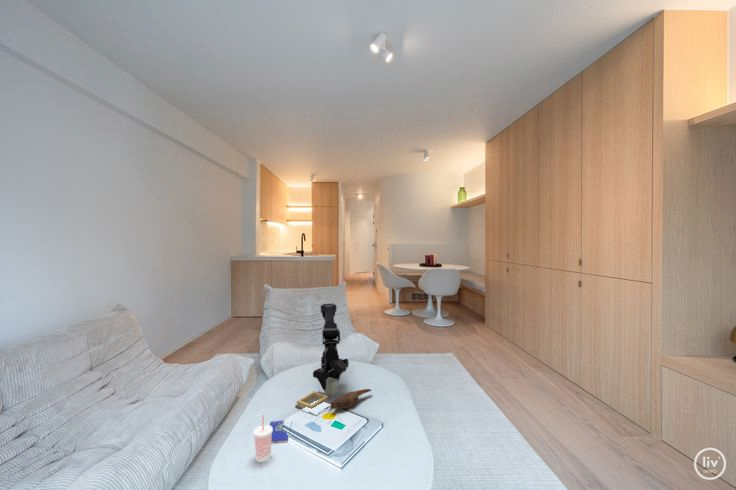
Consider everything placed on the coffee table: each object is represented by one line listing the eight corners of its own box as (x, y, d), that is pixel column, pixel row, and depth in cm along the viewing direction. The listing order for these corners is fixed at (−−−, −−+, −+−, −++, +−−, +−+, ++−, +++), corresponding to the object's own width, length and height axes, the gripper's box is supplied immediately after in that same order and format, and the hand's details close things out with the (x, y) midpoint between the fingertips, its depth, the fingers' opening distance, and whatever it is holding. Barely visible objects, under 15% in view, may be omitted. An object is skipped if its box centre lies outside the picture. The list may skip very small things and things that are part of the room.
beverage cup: (266, 448, 109) (265, 408, 109) (276, 456, 105) (276, 414, 105) (249, 458, 105) (249, 415, 104) (260, 466, 101) (259, 422, 101)
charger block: (329, 389, 153) (329, 377, 153) (337, 392, 150) (337, 379, 150) (324, 392, 150) (323, 380, 150) (332, 395, 147) (332, 382, 147)
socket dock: (318, 393, 149) (318, 387, 149) (339, 400, 142) (339, 393, 142) (295, 407, 136) (295, 400, 136) (316, 415, 130) (316, 408, 130)
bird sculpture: (375, 397, 145) (375, 386, 145) (333, 420, 127) (333, 407, 127) (364, 392, 150) (364, 382, 149) (323, 413, 131) (323, 401, 131)
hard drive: (270, 421, 124) (263, 441, 112) (291, 419, 125) (287, 439, 113) (270, 425, 124) (263, 445, 112) (291, 423, 125) (287, 443, 113)
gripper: (331, 363, 138) (331, 399, 138) (356, 350, 153) (356, 383, 153) (312, 358, 144) (312, 392, 144) (337, 346, 159) (337, 377, 160)
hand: (330, 386), depth 150 cm, fingers open, 9 cm apart
